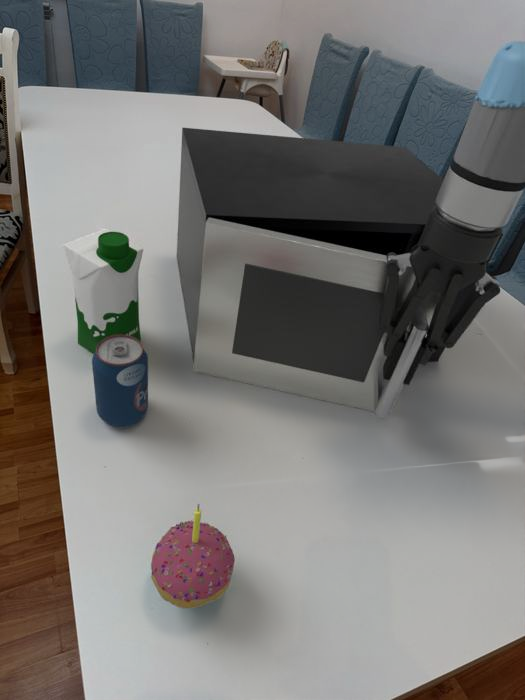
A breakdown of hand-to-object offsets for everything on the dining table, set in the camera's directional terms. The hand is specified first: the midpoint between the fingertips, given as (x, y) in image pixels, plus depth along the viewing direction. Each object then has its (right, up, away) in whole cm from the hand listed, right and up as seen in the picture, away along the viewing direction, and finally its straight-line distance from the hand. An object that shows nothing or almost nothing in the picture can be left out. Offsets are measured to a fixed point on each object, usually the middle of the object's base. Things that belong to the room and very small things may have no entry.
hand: (395, 375), depth 67 cm
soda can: (-38, -6, +3) cm, 38 cm away
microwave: (-11, +12, +29) cm, 33 cm away
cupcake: (-26, -22, -13) cm, 36 cm away
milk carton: (-43, +4, +13) cm, 45 cm away
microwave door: (-14, -5, +9) cm, 17 cm away
